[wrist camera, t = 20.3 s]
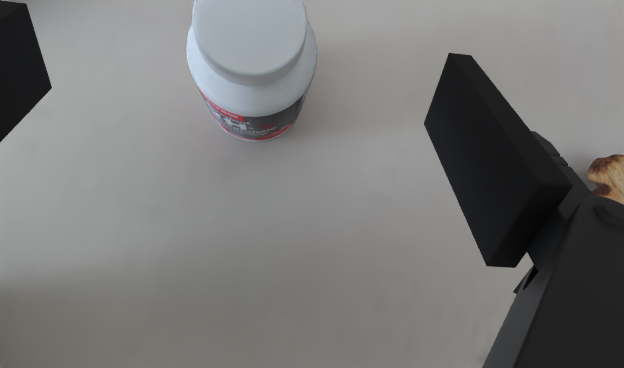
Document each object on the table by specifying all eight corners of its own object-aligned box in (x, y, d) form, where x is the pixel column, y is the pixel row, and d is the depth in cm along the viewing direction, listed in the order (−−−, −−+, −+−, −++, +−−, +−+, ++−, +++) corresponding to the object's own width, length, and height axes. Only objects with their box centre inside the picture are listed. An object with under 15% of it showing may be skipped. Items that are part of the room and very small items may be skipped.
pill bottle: (206, 142, 23) (165, 90, 14) (209, 50, 24) (171, -65, 14) (302, 145, 24) (327, 97, 14) (303, 55, 24) (328, -52, 15)
